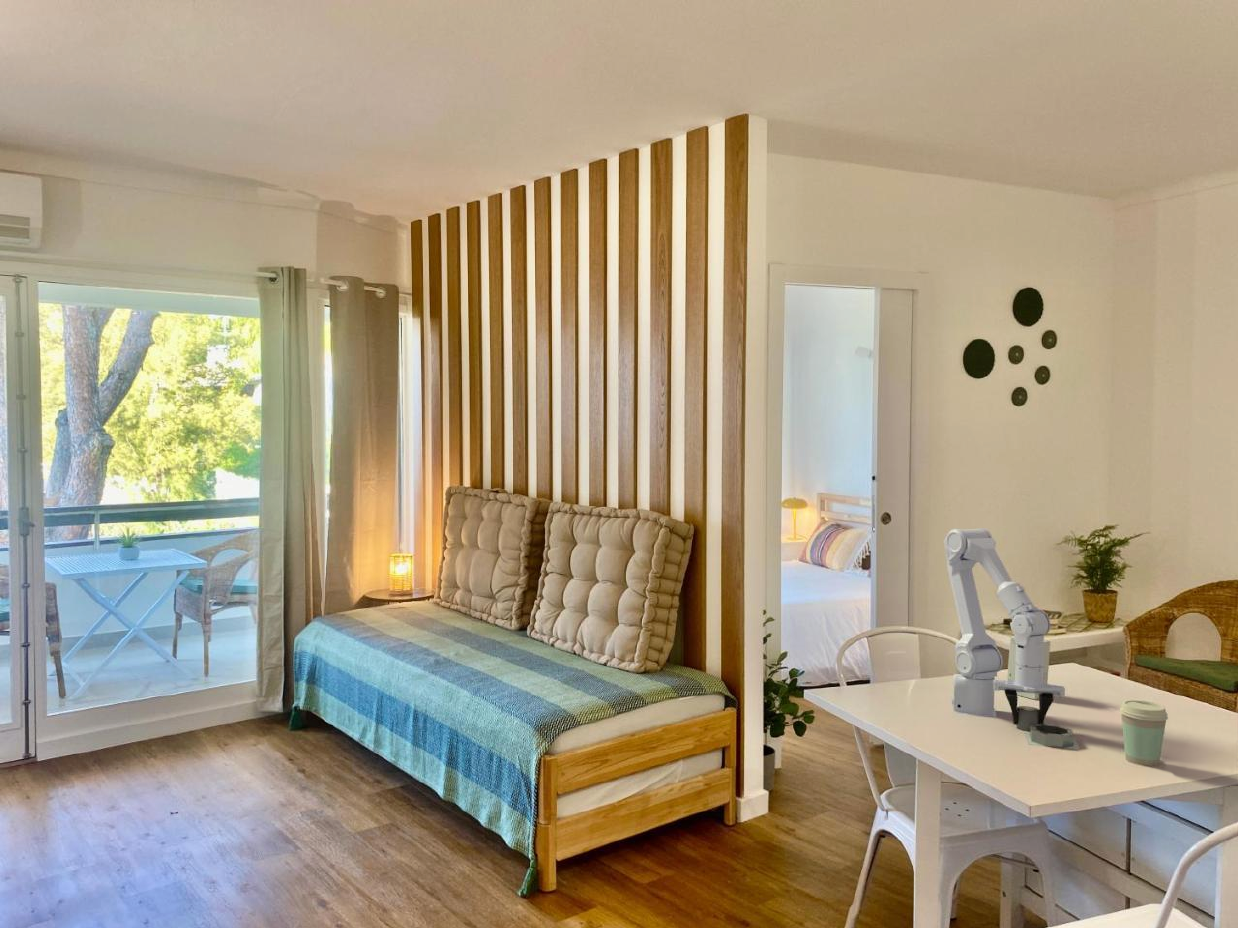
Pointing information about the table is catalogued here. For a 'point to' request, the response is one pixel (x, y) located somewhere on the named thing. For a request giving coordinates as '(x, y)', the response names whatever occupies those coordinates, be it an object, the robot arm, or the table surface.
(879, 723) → the table surface
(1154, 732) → the coffee cup
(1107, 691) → the table surface
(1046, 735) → the octagonal ring mount
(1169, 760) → the table surface
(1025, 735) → the plate
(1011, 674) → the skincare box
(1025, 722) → the cap
